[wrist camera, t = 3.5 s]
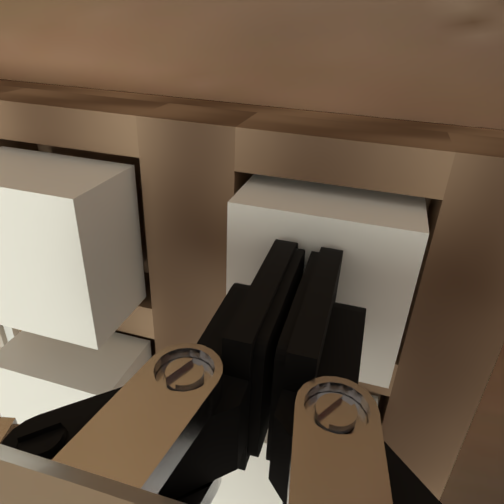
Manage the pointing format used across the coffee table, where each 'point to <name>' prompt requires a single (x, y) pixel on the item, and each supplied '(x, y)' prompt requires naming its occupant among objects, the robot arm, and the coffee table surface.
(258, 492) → the button
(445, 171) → the button board
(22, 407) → the button
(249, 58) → the coffee table surface
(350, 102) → the coffee table surface
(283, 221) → the button
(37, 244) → the button
